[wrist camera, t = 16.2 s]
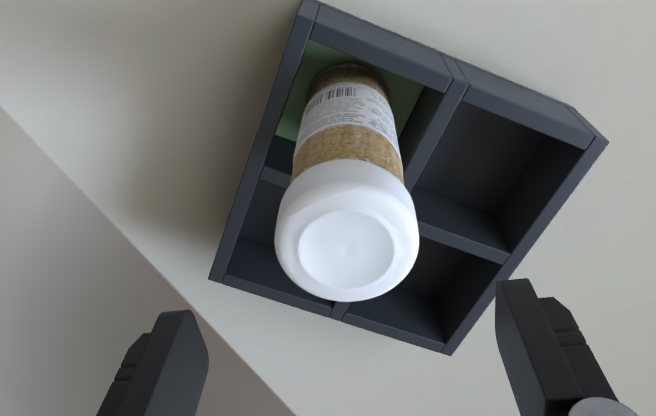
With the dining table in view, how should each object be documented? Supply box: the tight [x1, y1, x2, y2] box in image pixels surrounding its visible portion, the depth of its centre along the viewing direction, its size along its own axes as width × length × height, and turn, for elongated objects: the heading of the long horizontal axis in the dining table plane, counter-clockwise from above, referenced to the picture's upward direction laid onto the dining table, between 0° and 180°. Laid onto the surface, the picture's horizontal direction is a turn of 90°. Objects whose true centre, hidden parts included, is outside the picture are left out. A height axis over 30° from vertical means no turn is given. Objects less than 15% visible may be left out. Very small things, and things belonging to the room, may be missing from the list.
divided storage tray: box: [208, 0, 609, 356], centre depth 28 cm, size 15×15×5 cm
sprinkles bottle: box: [274, 62, 419, 302], centre depth 21 cm, size 5×5×14 cm
